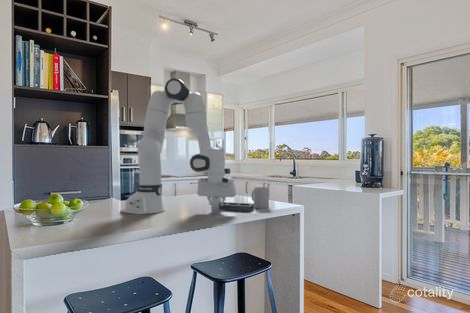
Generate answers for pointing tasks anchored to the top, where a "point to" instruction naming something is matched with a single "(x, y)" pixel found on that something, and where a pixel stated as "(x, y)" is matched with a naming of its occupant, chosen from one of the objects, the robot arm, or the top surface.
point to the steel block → (215, 204)
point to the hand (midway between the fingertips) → (216, 205)
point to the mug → (260, 197)
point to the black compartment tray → (237, 207)
